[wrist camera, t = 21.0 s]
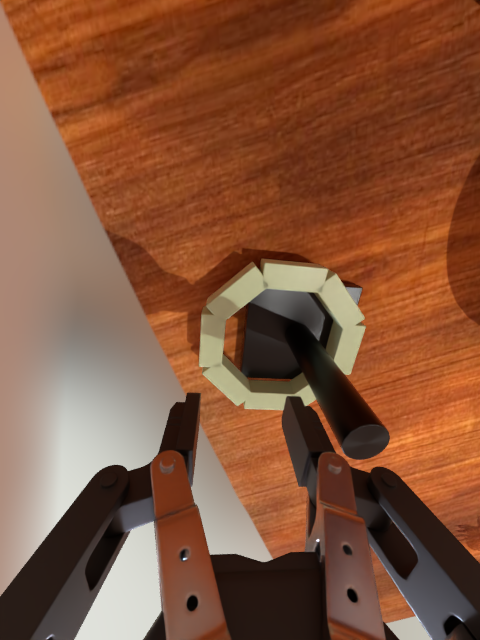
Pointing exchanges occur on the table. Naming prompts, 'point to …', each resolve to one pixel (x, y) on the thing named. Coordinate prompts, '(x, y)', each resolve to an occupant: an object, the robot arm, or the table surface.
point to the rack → (309, 363)
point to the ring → (245, 289)
